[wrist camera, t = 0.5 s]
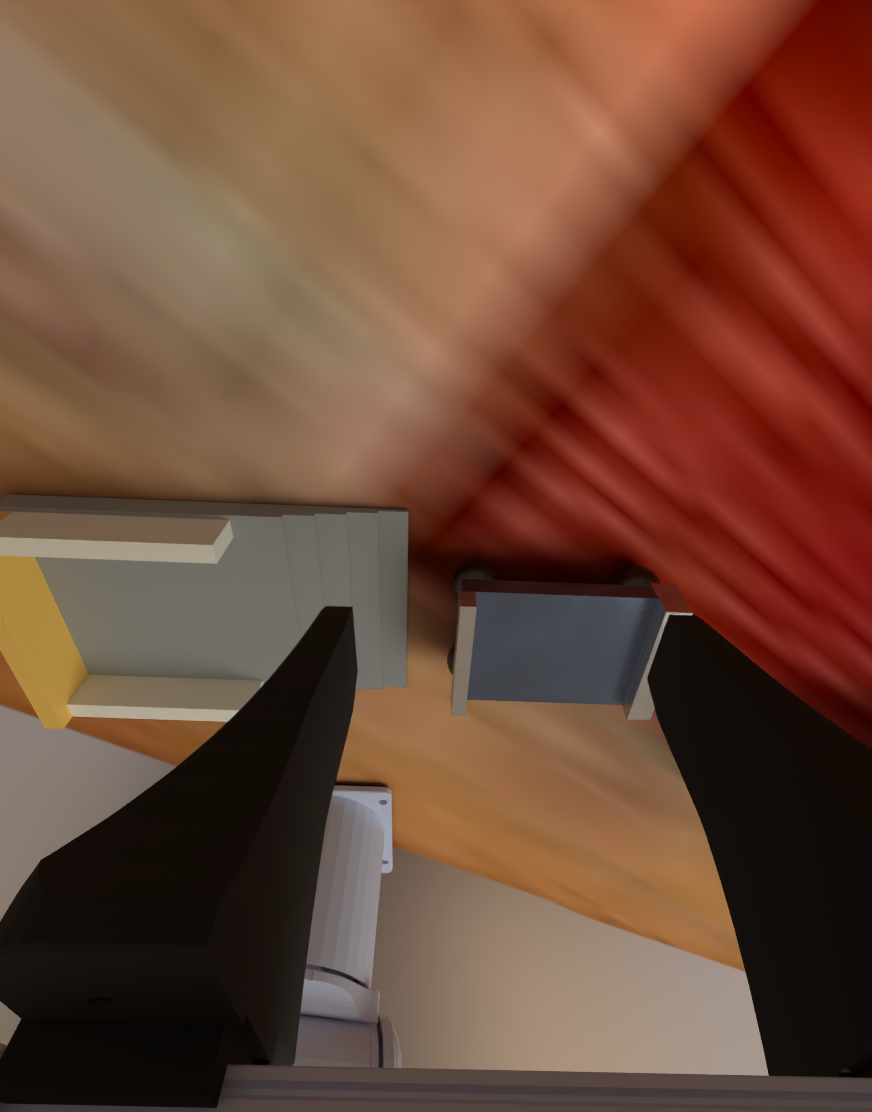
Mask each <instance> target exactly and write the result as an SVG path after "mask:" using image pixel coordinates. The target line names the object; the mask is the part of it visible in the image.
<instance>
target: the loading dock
mask: <svg viewBox="0 0 872 1112" xmlns="http://www.w3.org/2000/svg"><path fill="white" fill-rule="evenodd" d="M407 595H408V510H404V509H378V508H353V507H327V506H301V505H276V504H250V503H225V502H199V501H173V500H148V499H122V498H97V497H71V496H46V495H20V494H8V495H6V496H5V497H3V498H2V499H0V651H1V652H2V654H3V656H4V658H5V659H6V661H7V663H8V665H9V666H10V668H11V670H12V672H13V673H14V675H15V677H16V679H17V680H18V682H19V684H20V685H21V687H22V689H23V691H24V692H25V694H26V696H27V698H28V699H29V701H30V703H31V705H32V706H33V708H34V710H35V712H36V713H37V715H38V717H39V719H40V720H41V722H42V724H43V725H44V727H45V728H46V729H64V728H65V726H66V725H67V724H68V722H69V721H70V719H71V718H72V717H73V716H76V717H106V718H135V719H165V720H194V721H224V722H228V721H229V720H230V719H231V718H232V717H233V716H234V715H235V714H236V713H237V712H238V711H239V710H240V709H241V708H242V707H243V706H244V705H245V704H246V703H247V702H248V701H249V700H250V699H251V698H252V696H253V695H254V694H255V693H256V692H257V691H258V690H259V689H260V688H261V686H262V685H263V684H264V683H265V682H266V681H267V680H268V679H269V678H270V677H271V675H272V674H273V673H274V672H275V671H276V669H277V668H278V667H279V666H280V665H281V663H282V662H283V661H284V660H285V658H286V657H287V656H288V655H289V653H290V652H291V651H292V650H293V648H294V647H295V646H296V644H297V643H298V642H299V641H300V639H301V638H302V637H303V635H304V634H305V632H306V631H307V630H308V628H309V627H310V626H311V624H312V623H313V621H314V620H315V618H316V617H317V615H318V614H319V612H320V611H321V610H322V609H323V608H324V607H325V606H348V607H353V618H354V631H355V643H356V655H357V668H358V673H357V682H356V690H355V692H357V690H358V689H382V686H384V687H406V684H407Z"/></svg>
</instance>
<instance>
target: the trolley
mask: <svg viewBox="0 0 872 1112" xmlns="http://www.w3.org/2000/svg"><path fill="white" fill-rule="evenodd" d="M453 590H454V593H455V595H456V597H457V598H458V600H459V603H458V615H457V628H456V640H455V644H454V645H453V646H452V647H451V649H450V650H449V653H448V656H447V664H448V668H449V670H450V672H451V674H452V675H453V678H452V690H451V715H457V716H465V714H466V704H467V699H468V700H497V701H526V702H555V703H584V704H613V705H622V707H623V709H624V712H625V715H626V718H627V719H629V720H650V719H651V717H652V714H653V712H654V709H655V707H654V704H653V700H652V696H651V692H650V689H649V685H648V681H647V677H648V674H649V671H650V668H651V665H652V662H653V659H654V657H655V654H656V651H657V648H658V645H659V642H660V639H661V637H662V634H663V631H664V628H665V625H666V622H667V619H668V617H669V615H693V612H692V611H691V609H690V607H689V606H688V604H687V602H686V601H685V599H684V597H683V596H682V594H681V593H680V591H679V589H678V588H677V586H676V584H665V583H660V580H659V578H658V577H657V576H656V574H655V573H654V572H653V571H651V570H650V569H648V568H646V567H643V566H628V567H625V568H623V569H621V570H620V571H619V572H617V573H616V575H615V576H614V577H613V579H612V582H611V584H585V583H558V582H531V581H505V580H501V579H500V575H499V573H498V571H497V570H496V568H495V567H494V566H493V565H491V564H490V563H488V562H486V561H484V560H470V561H467V562H465V563H463V564H462V565H461V566H460V567H459V568H458V569H457V570H456V572H455V574H454V577H453Z"/></svg>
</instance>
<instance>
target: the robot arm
mask: <svg viewBox="0 0 872 1112" xmlns="http://www.w3.org/2000/svg"><path fill="white" fill-rule="evenodd" d="M357 673H358V668H357V655H356V643H355V631H354V618H353V607H348V606H325V607H324V608H323V609H322V610H321V611H320V612H319V614H318V615H317V617H316V618H315V620H314V621H313V623H312V624H311V626H310V627H309V628H308V630H307V631H306V632H305V634H304V635H303V637H302V638H301V639H300V641H299V642H298V643H297V644H296V646H295V647H294V648H293V650H292V651H291V652H290V653H289V655H288V656H287V657H286V658H285V660H284V661H283V662H282V663H281V665H280V666H279V667H278V668H277V669H276V671H275V672H274V673H273V674H272V675H271V677H270V678H269V679H268V680H267V681H266V682H265V683H264V684H263V685H262V686H261V688H260V689H259V690H258V691H257V692H256V693H255V694H254V695H253V696H252V698H251V699H250V700H249V701H248V702H247V703H246V704H245V705H244V706H243V707H242V708H241V709H240V710H239V711H238V712H237V713H236V714H235V715H234V716H233V717H232V718H231V719H230V720H229V721H228V722H227V723H226V724H225V725H224V726H223V727H222V728H221V729H220V730H218V731H217V732H216V733H215V734H214V735H213V736H212V737H211V738H210V739H209V740H208V741H206V742H205V743H204V744H203V745H202V746H201V747H199V748H198V749H197V750H196V751H195V752H194V753H192V754H191V755H190V756H189V757H188V758H187V759H186V760H184V761H183V762H182V763H181V764H179V765H178V766H177V767H176V768H175V769H173V770H172V771H171V772H170V773H168V774H167V775H166V776H164V777H163V778H162V779H160V780H159V781H158V782H156V783H155V784H154V785H152V786H151V787H150V788H148V789H147V790H146V791H144V792H143V793H142V794H140V795H139V796H137V797H136V798H135V799H133V800H132V801H131V802H129V803H128V804H127V805H125V806H124V807H123V808H121V809H120V810H118V811H117V812H116V813H114V814H113V815H111V816H110V817H108V818H107V819H105V820H104V821H102V822H101V823H99V824H97V825H96V826H94V827H93V828H91V829H90V830H88V831H86V832H85V833H83V834H82V835H80V836H79V837H77V838H75V839H74V840H72V841H71V842H70V843H68V844H66V845H64V846H63V847H61V848H60V849H58V850H57V851H55V852H53V853H52V854H50V855H48V856H47V857H45V858H43V859H42V860H41V861H40V862H39V864H38V865H37V867H36V868H35V869H34V871H33V872H32V873H31V875H30V876H29V878H28V879H27V880H26V882H25V883H24V884H23V886H22V887H21V889H20V890H19V892H18V894H17V895H16V897H15V898H14V900H13V901H12V903H11V905H10V906H9V908H8V910H7V911H6V913H5V915H4V916H3V918H2V919H1V921H0V1001H1V1002H2V1003H3V1004H5V1005H6V1006H7V1007H8V1008H9V1009H10V1010H12V1011H13V1012H14V1013H15V1014H16V1015H18V1016H19V1017H20V1018H21V1021H20V1023H19V1024H18V1026H17V1029H16V1031H15V1032H14V1034H13V1036H12V1038H11V1040H10V1042H9V1044H8V1046H6V1045H4V1044H1V1043H0V1112H872V749H871V748H869V747H868V746H866V745H864V744H863V743H861V742H860V741H858V740H857V739H855V738H854V737H852V736H851V735H849V734H848V733H846V732H845V731H843V730H842V729H840V728H839V727H837V726H836V725H835V724H833V723H832V722H830V721H829V720H827V719H826V718H825V717H823V716H822V715H821V714H819V713H818V712H817V711H815V710H814V709H813V708H811V707H810V706H808V705H807V704H806V703H804V702H803V701H802V700H800V699H799V698H798V697H796V696H795V695H794V694H793V693H791V692H790V691H789V690H787V689H786V688H785V687H783V686H782V685H781V684H780V683H778V682H777V681H776V680H775V679H773V678H772V677H771V676H770V675H768V674H767V673H766V672H765V671H764V670H762V669H761V668H760V667H759V666H757V665H756V664H755V663H754V662H753V661H751V660H750V659H749V658H748V657H746V656H745V655H744V654H743V653H742V652H741V651H739V650H738V649H737V648H736V647H735V646H733V645H732V644H731V643H730V642H729V641H727V640H726V639H725V638H724V637H723V636H721V635H720V634H719V633H718V632H716V631H715V630H714V629H713V628H712V627H710V626H709V625H708V624H707V623H705V622H704V621H703V620H701V619H700V618H699V617H697V616H696V615H669V617H668V619H667V622H666V625H665V628H664V631H663V634H662V637H661V639H660V642H659V645H658V648H657V651H656V654H655V657H654V659H653V662H652V665H651V668H650V671H649V674H648V677H647V681H648V685H649V689H650V692H651V696H652V700H653V704H654V707H655V711H656V714H657V717H658V720H659V723H660V725H661V728H662V730H663V733H664V735H665V737H666V740H667V742H668V745H669V747H670V749H671V752H672V754H673V756H674V759H675V761H676V763H677V766H678V768H679V770H680V773H681V775H682V777H683V780H684V782H685V784H686V787H687V789H688V791H689V793H690V796H691V798H692V800H693V803H694V805H695V807H696V810H697V812H698V815H699V817H700V820H701V823H702V825H703V828H704V830H705V833H706V836H707V839H708V842H709V845H710V849H711V852H712V855H713V858H714V861H715V864H716V868H717V871H718V874H719V877H720V880H721V884H722V887H723V891H724V894H725V898H726V901H727V905H728V908H729V911H730V915H731V918H732V922H733V925H734V929H735V933H736V937H737V940H738V944H739V948H740V952H741V956H742V960H743V964H744V968H745V971H746V975H747V979H748V983H749V987H750V991H751V996H752V1000H753V1005H754V1009H755V1013H756V1018H757V1022H758V1026H759V1031H760V1035H761V1040H762V1044H763V1049H764V1054H765V1059H766V1063H767V1069H768V1074H769V1076H752V1075H751V1076H750V1075H705V1074H655V1073H608V1072H562V1071H561V1072H560V1071H513V1070H467V1069H417V1068H402V1062H401V1050H400V1045H399V1040H398V1037H397V1034H396V1032H395V1030H394V1028H393V1026H392V1022H391V1021H390V1019H389V1017H388V1016H387V1015H386V1014H383V1013H378V1012H379V999H380V991H378V990H373V989H371V979H372V967H373V956H374V945H375V935H376V924H377V913H378V901H379V891H380V881H381V873H389V872H391V871H392V867H393V857H392V856H393V854H392V792H391V790H390V789H389V788H387V787H374V786H343V785H335V782H336V778H337V774H338V770H339V766H340V762H341V758H342V753H343V749H344V745H345V741H346V737H347V733H348V729H349V725H350V721H351V717H352V712H353V705H354V698H355V690H356V682H357Z"/></svg>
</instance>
